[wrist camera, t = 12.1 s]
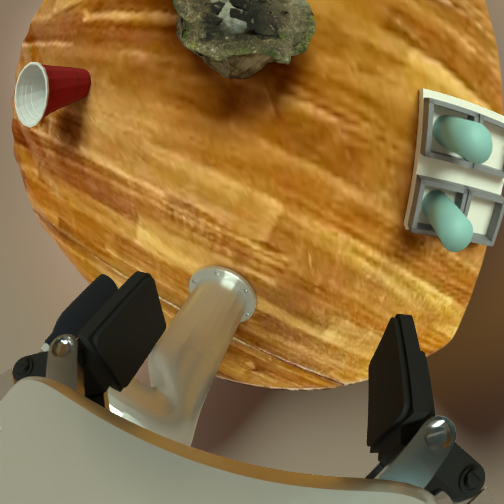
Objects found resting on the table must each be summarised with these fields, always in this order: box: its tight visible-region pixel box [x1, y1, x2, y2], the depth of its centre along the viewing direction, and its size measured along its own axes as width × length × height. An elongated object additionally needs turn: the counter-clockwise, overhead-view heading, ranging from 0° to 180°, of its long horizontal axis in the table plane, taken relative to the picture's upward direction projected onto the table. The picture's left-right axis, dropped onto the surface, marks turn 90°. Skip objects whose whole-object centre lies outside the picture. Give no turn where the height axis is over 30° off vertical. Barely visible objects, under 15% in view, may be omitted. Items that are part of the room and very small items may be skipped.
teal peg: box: [433, 115, 493, 164], centre depth 19 cm, size 4×4×8 cm
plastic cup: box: [15, 62, 91, 127], centre depth 28 cm, size 11×11×12 cm
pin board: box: [404, 88, 504, 252], centre depth 21 cm, size 18×14×10 cm
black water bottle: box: [39, 274, 118, 353], centre depth 47 cm, size 6×6×30 cm
